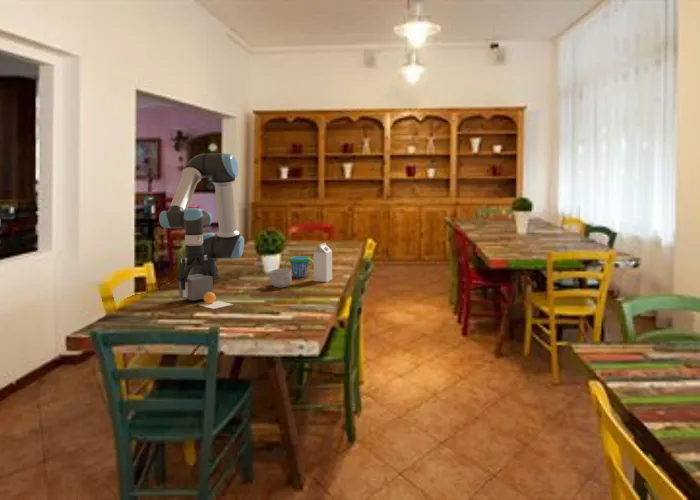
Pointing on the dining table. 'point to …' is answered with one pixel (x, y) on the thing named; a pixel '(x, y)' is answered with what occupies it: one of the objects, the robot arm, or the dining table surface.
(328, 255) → the milk carton
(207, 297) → the ball
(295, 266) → the snack cup
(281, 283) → the teacup
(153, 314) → the dining table surface
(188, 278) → the grey block
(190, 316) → the dining table surface
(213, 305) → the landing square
